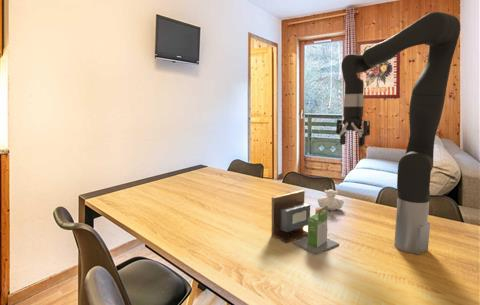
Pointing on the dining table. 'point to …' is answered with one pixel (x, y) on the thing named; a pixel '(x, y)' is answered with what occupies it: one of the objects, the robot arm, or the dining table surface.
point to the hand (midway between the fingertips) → (351, 145)
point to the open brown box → (290, 216)
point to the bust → (330, 201)
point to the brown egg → (319, 209)
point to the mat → (315, 250)
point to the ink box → (317, 228)
